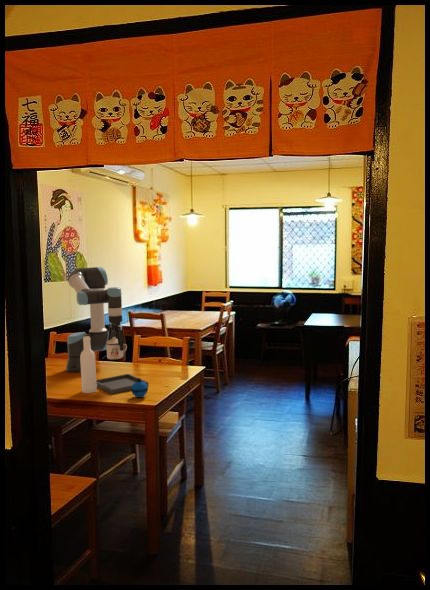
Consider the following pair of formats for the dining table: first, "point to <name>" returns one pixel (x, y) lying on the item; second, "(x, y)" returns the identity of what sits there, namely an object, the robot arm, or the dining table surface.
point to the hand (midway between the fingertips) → (117, 354)
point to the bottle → (88, 367)
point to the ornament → (139, 388)
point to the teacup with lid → (113, 348)
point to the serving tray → (118, 383)
